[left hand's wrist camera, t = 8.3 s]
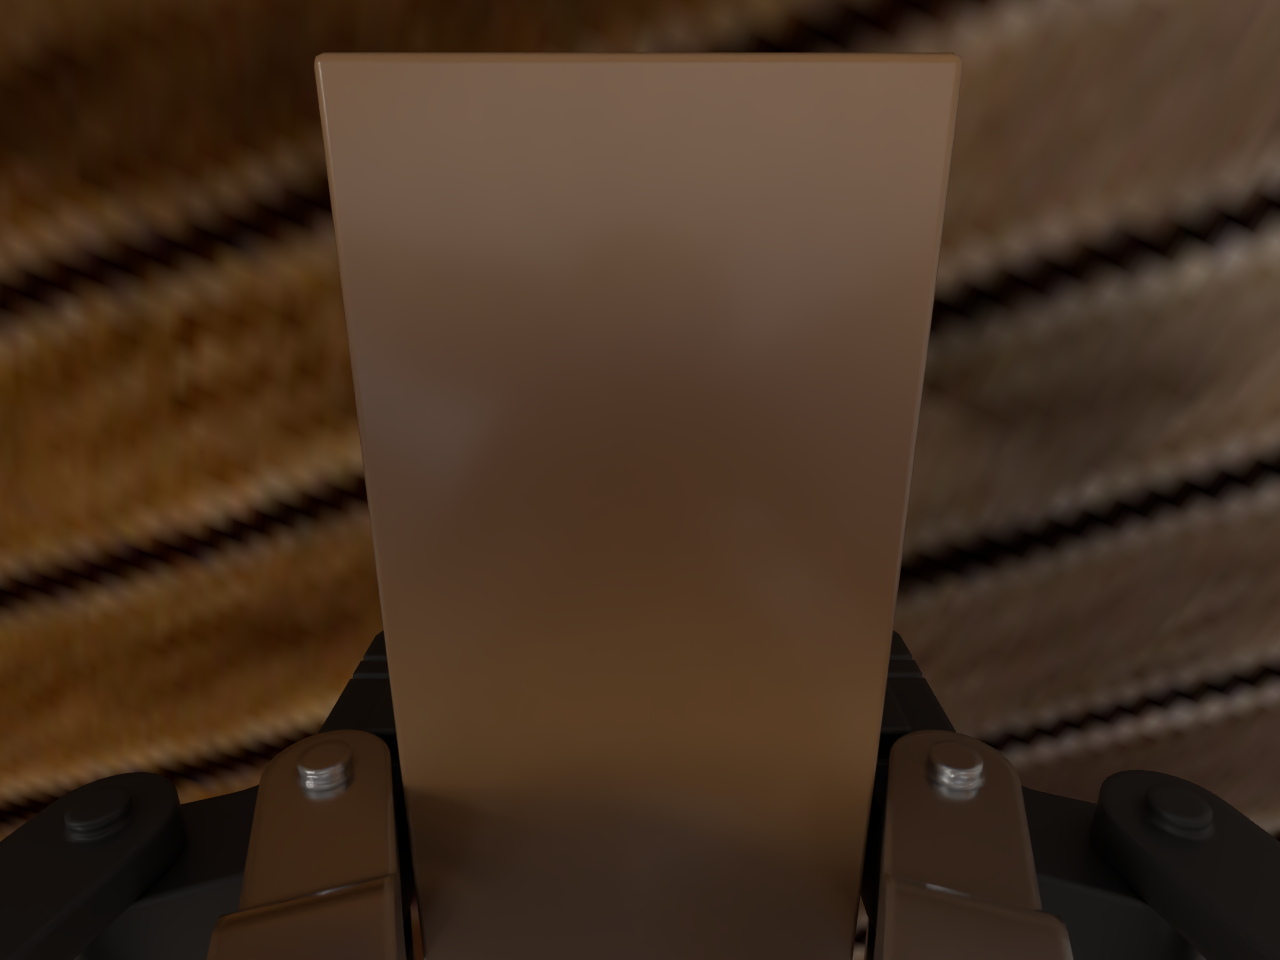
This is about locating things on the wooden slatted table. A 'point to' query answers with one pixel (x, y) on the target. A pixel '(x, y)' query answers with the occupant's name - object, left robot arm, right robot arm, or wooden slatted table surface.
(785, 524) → the post
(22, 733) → the wooden slatted table surface
